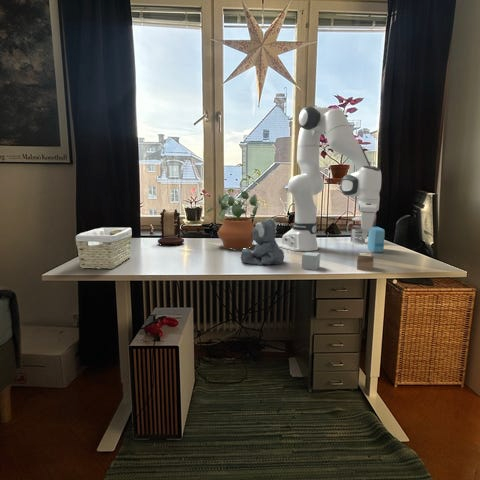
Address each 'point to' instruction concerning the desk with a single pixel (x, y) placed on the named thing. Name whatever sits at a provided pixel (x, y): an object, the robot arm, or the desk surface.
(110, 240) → the storage basket
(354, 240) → the french press
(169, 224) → the scroll
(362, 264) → the walnut cube
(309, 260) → the grey cube
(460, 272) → the desk surface
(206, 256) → the desk surface
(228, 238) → the potted plant
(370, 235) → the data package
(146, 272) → the desk surface
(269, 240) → the koala plush
